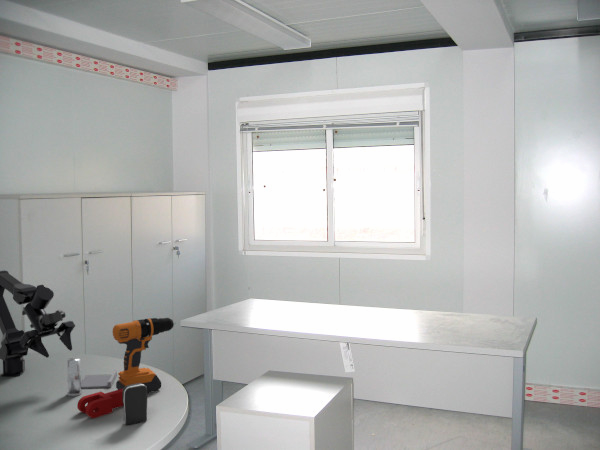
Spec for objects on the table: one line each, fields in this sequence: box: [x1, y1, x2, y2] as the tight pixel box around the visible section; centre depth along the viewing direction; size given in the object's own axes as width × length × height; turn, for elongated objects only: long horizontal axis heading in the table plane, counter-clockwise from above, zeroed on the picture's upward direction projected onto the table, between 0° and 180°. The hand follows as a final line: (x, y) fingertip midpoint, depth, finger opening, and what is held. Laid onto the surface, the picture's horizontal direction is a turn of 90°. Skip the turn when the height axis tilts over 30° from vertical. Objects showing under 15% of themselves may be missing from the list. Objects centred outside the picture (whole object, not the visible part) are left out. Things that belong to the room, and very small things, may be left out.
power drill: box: [112, 317, 176, 394], centre depth 203 cm, size 22×7×25 cm, turn 124°
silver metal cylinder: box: [67, 357, 82, 398], centre depth 199 cm, size 4×4×12 cm
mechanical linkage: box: [77, 389, 124, 419], centre depth 187 cm, size 16×7×5 cm, turn 136°
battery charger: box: [122, 383, 148, 426], centre depth 178 cm, size 7×4×11 cm, turn 125°
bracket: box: [81, 370, 118, 390], centre depth 211 cm, size 11×12×2 cm
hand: (59, 353), depth 202 cm, fingers open, 9 cm apart
